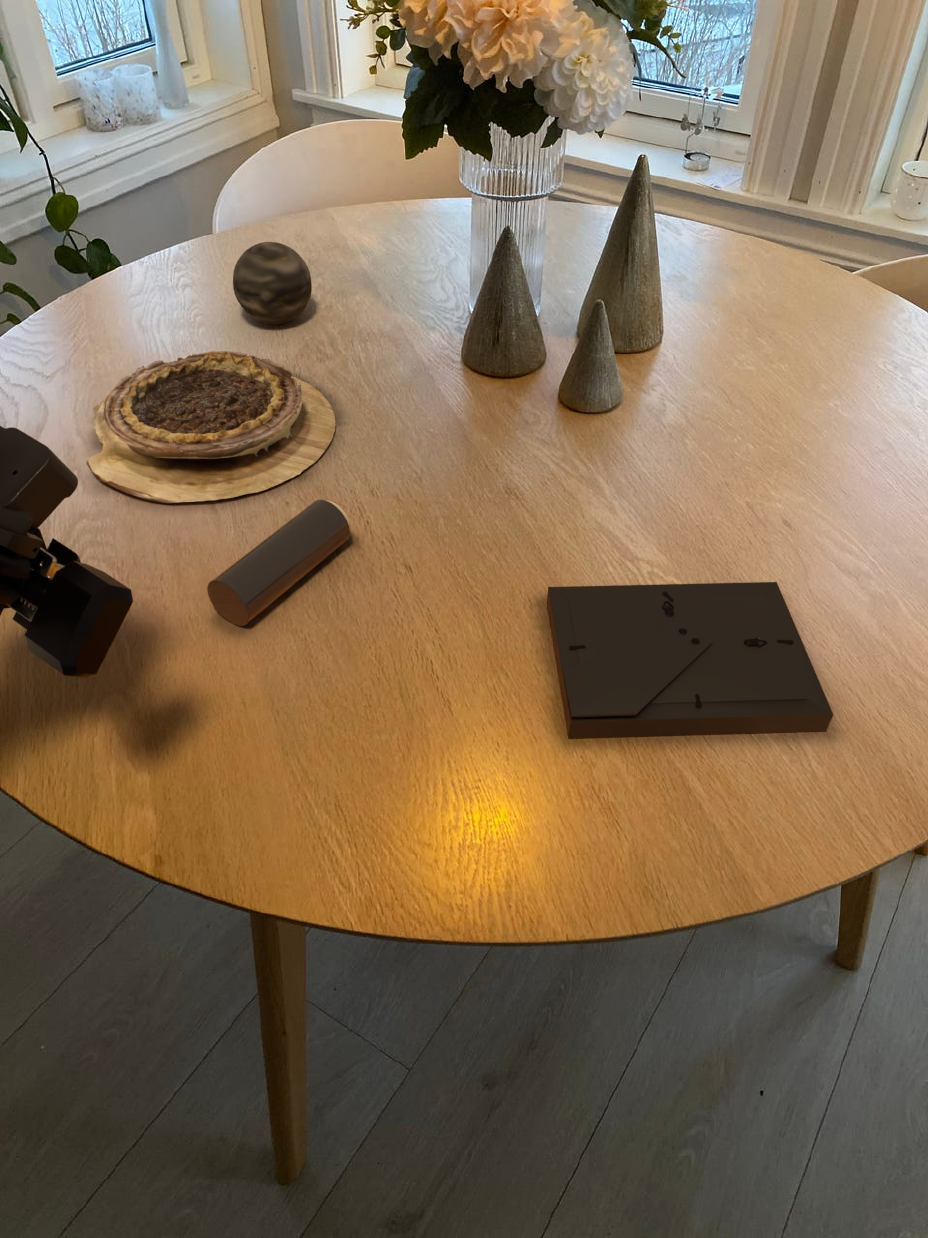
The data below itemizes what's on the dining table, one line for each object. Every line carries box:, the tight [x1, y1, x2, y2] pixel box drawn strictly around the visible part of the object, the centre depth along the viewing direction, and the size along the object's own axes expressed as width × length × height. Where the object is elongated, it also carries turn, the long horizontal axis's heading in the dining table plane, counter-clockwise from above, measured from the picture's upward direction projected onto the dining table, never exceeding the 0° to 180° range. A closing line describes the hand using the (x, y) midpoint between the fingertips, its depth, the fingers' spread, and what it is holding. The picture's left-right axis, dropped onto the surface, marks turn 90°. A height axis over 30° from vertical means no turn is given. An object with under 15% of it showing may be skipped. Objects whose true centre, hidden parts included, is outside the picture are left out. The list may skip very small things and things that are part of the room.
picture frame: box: [546, 581, 834, 740], centre depth 81 cm, size 16×3×21 cm
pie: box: [86, 350, 337, 504], centre depth 105 cm, size 28×27×5 cm
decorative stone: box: [232, 241, 313, 325], centre depth 123 cm, size 10×10×10 cm
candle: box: [206, 499, 351, 627], centre depth 88 cm, size 5×5×15 cm
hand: (101, 591), depth 69 cm, fingers closed
